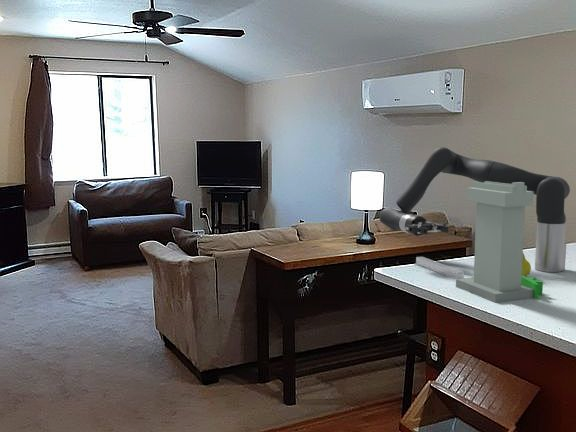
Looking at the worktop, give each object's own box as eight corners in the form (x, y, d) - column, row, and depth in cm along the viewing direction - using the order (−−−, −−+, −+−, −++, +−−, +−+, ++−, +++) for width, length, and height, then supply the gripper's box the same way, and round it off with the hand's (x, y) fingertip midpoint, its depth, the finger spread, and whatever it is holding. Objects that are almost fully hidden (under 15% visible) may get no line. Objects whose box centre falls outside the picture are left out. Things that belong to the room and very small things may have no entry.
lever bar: (421, 263, 222) (422, 256, 222) (463, 279, 198) (464, 271, 197) (415, 263, 221) (416, 257, 221) (457, 279, 197) (457, 272, 196)
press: (491, 282, 193) (496, 177, 188) (533, 297, 175) (539, 181, 170) (455, 286, 188) (459, 178, 183) (494, 302, 170) (499, 183, 166)
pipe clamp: (547, 299, 174) (547, 284, 174) (534, 299, 174) (535, 284, 174) (529, 288, 185) (530, 274, 185) (518, 289, 185) (519, 275, 185)
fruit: (508, 274, 203) (510, 240, 202) (529, 276, 201) (531, 242, 199) (509, 279, 197) (510, 244, 195) (530, 281, 195) (532, 245, 193)
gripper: (396, 215, 221) (420, 221, 206) (429, 213, 226) (454, 219, 211) (396, 235, 222) (419, 242, 207) (428, 232, 227) (453, 239, 212)
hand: (437, 230), depth 209 cm, fingers open, 8 cm apart
